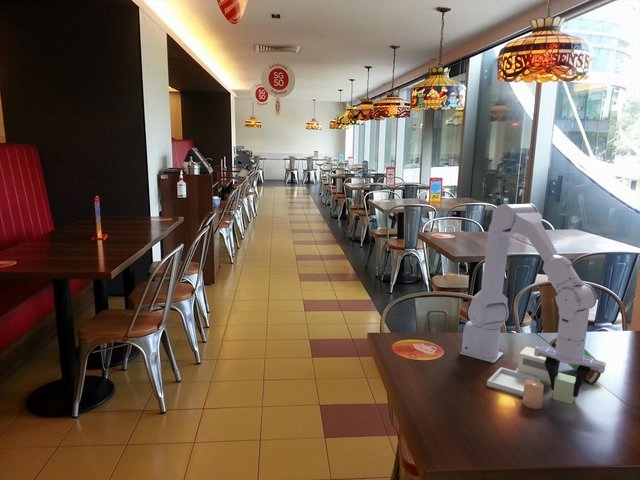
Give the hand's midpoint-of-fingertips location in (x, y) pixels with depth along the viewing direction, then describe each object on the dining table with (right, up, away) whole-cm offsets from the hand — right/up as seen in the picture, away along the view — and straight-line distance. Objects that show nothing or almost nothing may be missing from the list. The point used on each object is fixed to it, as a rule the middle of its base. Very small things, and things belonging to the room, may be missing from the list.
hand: (564, 392), depth 114 cm
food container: (+13, +3, +11) cm, 17 cm away
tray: (-9, 0, +6) cm, 11 cm away
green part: (0, -1, 0) cm, 1 cm away
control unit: (-1, +1, +11) cm, 11 cm away
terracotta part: (-9, -2, -3) cm, 10 cm away
